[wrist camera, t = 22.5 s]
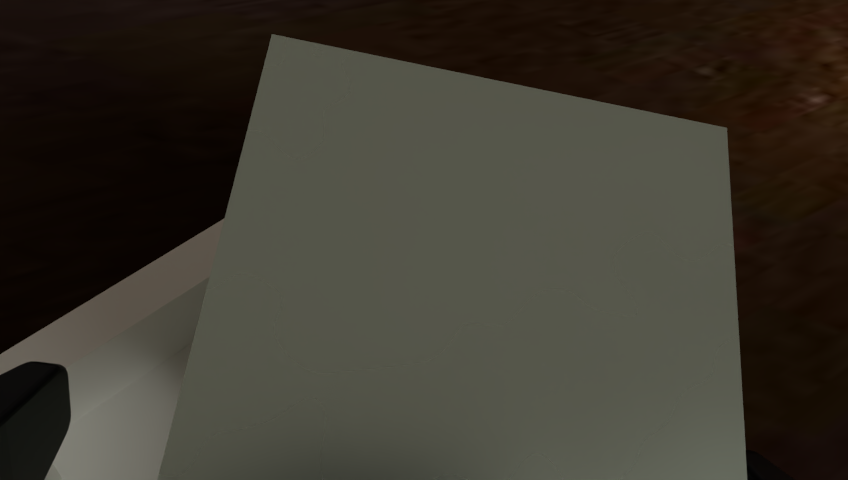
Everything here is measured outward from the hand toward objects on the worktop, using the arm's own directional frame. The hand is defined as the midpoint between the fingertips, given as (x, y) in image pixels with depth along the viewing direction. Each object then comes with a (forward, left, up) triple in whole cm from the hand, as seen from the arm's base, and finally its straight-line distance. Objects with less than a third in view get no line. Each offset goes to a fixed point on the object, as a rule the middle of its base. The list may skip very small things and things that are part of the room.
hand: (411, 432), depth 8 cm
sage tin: (+1, -1, -9) cm, 9 cm away
